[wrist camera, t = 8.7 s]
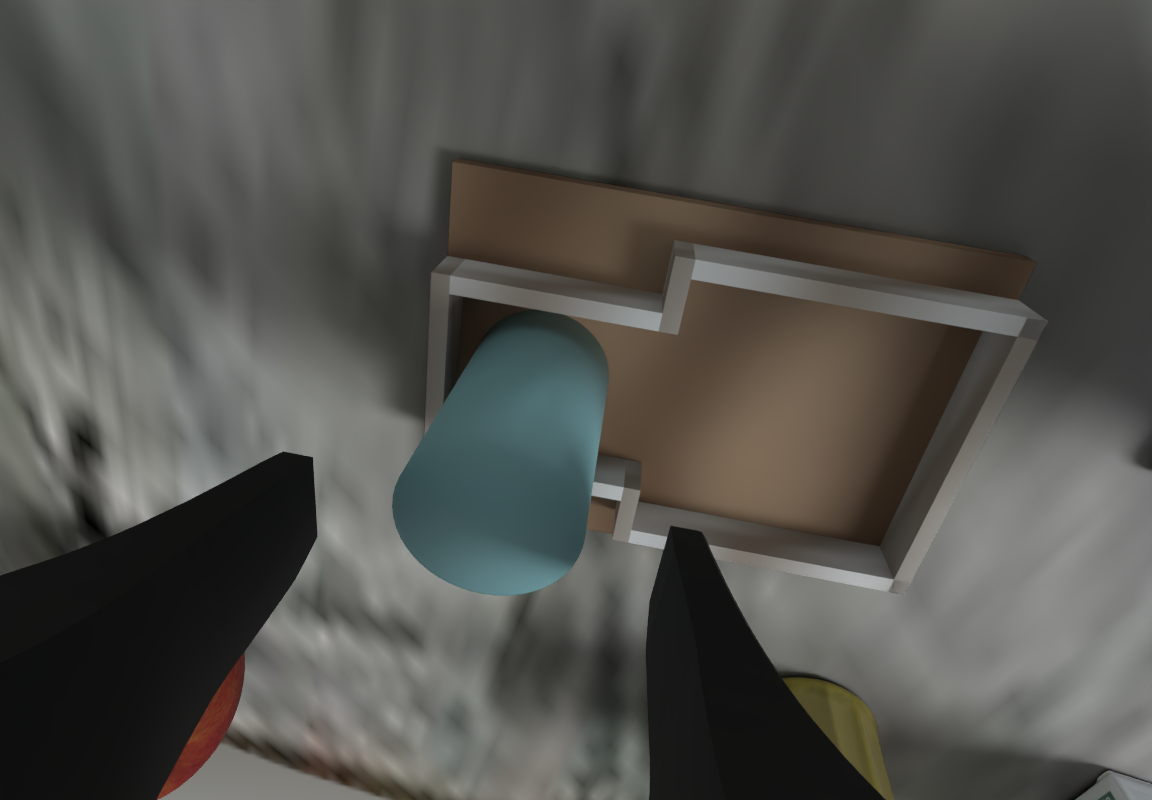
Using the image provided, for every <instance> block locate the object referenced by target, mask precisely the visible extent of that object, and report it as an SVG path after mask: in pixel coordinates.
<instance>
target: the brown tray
mask: <svg viewBox="0 0 1152 800" xmlns="http://www.w3.org/2000/svg"><path fill="white" fill-rule="evenodd" d="M1036 264H1037V263H1036V262H1035V261H1033V260H1031V259H1030V258H1028V257H1026V256H1021V255H1016V254H1010V253H1004V252H998V251H992V250H987V249H981V248H975V247H969V246H963V245H958V244H952V243H946V242H940V241H934V240H929V239H923V238H917V237H911V236H906V235H900V234H894V233H888V232H882V231H877V230H871V229H865V228H859V227H853V226H848V225H842V224H836V223H830V222H824V221H819V220H813V219H807V218H801V217H796V216H790V215H784V214H778V213H772V212H767V211H761V210H755V209H749V208H743V207H738V206H732V205H726V204H720V203H714V202H709V201H703V200H697V199H691V198H685V197H680V196H674V195H668V194H662V193H657V192H651V191H645V190H639V189H633V188H628V187H622V186H616V185H610V184H604V183H599V182H593V181H587V180H581V179H575V178H570V177H564V176H558V175H552V174H547V173H541V172H535V171H529V170H523V169H518V168H512V167H506V166H500V165H494V164H489V163H483V162H477V161H471V160H465V159H460V158H458V159H457V160H455V161H453V163H452V182H451V201H450V220H449V240H448V256H447V257H446V258H445V259H444V260H443V261H442V262H441V263H440V264H439V265H438V266H437V267H436V268H435V269H434V270H433V271H432V272H431V288H430V312H429V337H428V362H427V387H426V412H425V434H426V432H427V430H428V429H429V427H430V426H431V424H432V422H433V421H434V419H435V417H436V416H437V414H438V412H439V411H440V409H441V407H442V406H443V404H444V402H445V401H446V399H447V397H448V396H449V394H450V392H451V391H452V389H453V387H454V386H455V384H456V382H457V381H458V379H459V378H460V376H461V374H462V373H463V371H464V369H465V368H466V366H467V364H468V363H469V361H470V359H471V358H472V356H473V354H474V353H475V351H476V349H477V348H478V346H479V344H480V343H481V341H482V340H483V338H484V336H485V335H486V333H487V332H488V331H489V330H490V329H491V328H492V327H493V326H494V325H495V324H496V323H497V322H499V321H500V320H502V319H504V318H505V317H507V316H509V315H512V314H514V313H518V312H521V311H527V310H541V311H547V312H553V313H558V314H563V315H566V316H568V317H570V318H572V319H574V320H576V321H577V322H579V323H580V324H582V325H583V326H584V327H586V328H587V329H588V330H589V331H590V332H591V333H592V334H593V335H594V336H595V338H596V339H597V341H598V342H599V343H600V345H601V347H602V349H603V351H604V353H605V356H606V359H607V363H608V367H609V383H608V390H607V397H606V403H605V410H604V416H603V423H602V429H601V436H600V442H599V449H598V455H597V462H596V468H595V475H594V481H593V488H592V495H591V501H590V508H589V514H588V521H587V527H586V529H591V530H596V531H601V532H607V533H612V534H613V537H612V540H617V541H622V542H627V543H633V544H638V545H643V546H649V547H654V548H659V549H664V547H665V544H666V540H667V536H668V533H669V529H670V525H671V526H676V527H681V528H687V529H692V530H697V531H702V533H703V534H704V536H705V537H706V540H707V542H708V545H709V547H710V549H711V552H712V554H713V556H714V558H715V559H717V560H723V561H728V562H733V563H739V564H744V565H749V566H754V567H760V568H765V569H770V570H776V571H781V572H786V573H791V574H797V575H802V576H807V577H813V578H818V579H823V580H828V581H834V582H839V583H844V584H850V585H855V586H860V587H865V588H871V589H876V590H881V591H887V592H892V593H897V594H903V595H904V594H905V592H906V591H907V589H908V587H909V585H910V583H911V581H912V579H913V577H914V575H915V573H916V572H917V570H918V568H919V566H920V564H921V562H922V560H923V558H924V556H925V555H926V553H927V551H928V549H929V547H930V545H931V543H932V541H933V539H934V537H935V536H936V534H937V532H938V530H939V528H940V526H941V524H942V522H943V520H944V519H945V517H946V515H947V513H948V511H949V509H950V507H951V505H952V503H953V501H954V500H955V498H956V496H957V494H958V492H959V490H960V488H961V486H962V484H963V482H964V481H965V479H966V477H967V475H968V473H969V471H970V469H971V467H972V465H973V464H974V462H975V460H976V458H977V456H978V454H979V452H980V450H981V448H982V446H983V445H984V443H985V441H986V439H987V437H988V435H989V433H990V431H991V429H992V428H993V426H994V424H995V422H996V420H997V418H998V416H999V414H1000V412H1001V410H1002V409H1003V407H1004V405H1005V403H1006V401H1007V399H1008V397H1009V395H1010V393H1011V392H1012V390H1013V388H1014V386H1015V384H1016V382H1017V380H1018V378H1019V376H1020V374H1021V373H1022V371H1023V369H1024V367H1025V365H1026V363H1027V361H1028V359H1029V357H1030V356H1031V354H1032V352H1033V350H1034V348H1035V346H1036V344H1037V342H1038V340H1039V338H1040V337H1041V335H1042V333H1043V331H1044V329H1045V327H1046V325H1047V323H1048V321H1047V320H1046V319H1044V318H1043V317H1041V316H1040V315H1039V314H1037V313H1036V312H1034V311H1033V310H1032V309H1030V308H1029V307H1027V306H1026V305H1025V304H1023V303H1022V302H1020V301H1019V299H1020V297H1021V295H1022V293H1023V291H1024V289H1025V286H1026V284H1027V282H1028V280H1029V278H1030V276H1031V274H1032V272H1033V270H1034V268H1035V266H1036Z"/></svg>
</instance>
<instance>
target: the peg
mask: <svg viewBox="0 0 1152 800" xmlns="http://www.w3.org/2000/svg"><path fill="white" fill-rule="evenodd" d="M608 383H609V367H608V363H607V359H606V356H605V353H604V351H603V349H602V347H601V345H600V343H599V342H598V341H597V339H596V338H595V336H594V335H593V334H592V333H591V332H590V331H589V330H588V329H587V328H586V327H584V326H583V325H582V324H580V323H579V322H577V321H576V320H574V319H572V318H570V317H568V316H566V315H563V314H558V313H553V312H547V311H541V310H527V311H521V312H518V313H514V314H512V315H509V316H507V317H505V318H504V319H502V320H500V321H499V322H497V323H496V324H495V325H494V326H493V327H492V328H491V329H490V330H489V331H488V332H487V333H486V335H485V336H484V338H483V340H482V341H481V343H480V344H479V346H478V348H477V349H476V351H475V353H474V354H473V356H472V358H471V359H470V361H469V363H468V364H467V366H466V368H465V369H464V371H463V373H462V374H461V376H460V378H459V379H458V381H457V382H456V384H455V386H454V387H453V389H452V391H451V392H450V394H449V396H448V397H447V399H446V401H445V402H444V404H443V406H442V407H441V409H440V411H439V412H438V414H437V416H436V417H435V419H434V421H433V422H432V424H431V426H430V427H429V429H428V430H427V432H426V434H425V435H424V437H423V439H422V440H421V442H420V444H419V445H418V447H417V449H416V450H415V452H414V454H413V455H412V457H411V459H410V460H409V462H408V464H407V465H406V467H405V469H404V470H403V472H402V474H401V475H400V477H399V479H398V481H397V484H396V486H395V490H394V494H393V504H392V508H393V517H394V521H395V525H396V528H397V530H398V533H399V535H400V537H401V539H402V541H403V542H404V544H405V546H406V547H407V549H408V550H409V551H410V553H411V554H412V555H413V556H414V557H415V558H416V559H417V560H418V561H419V562H420V563H421V564H422V565H423V566H424V567H425V568H427V569H428V570H429V571H430V572H432V573H433V574H435V575H436V576H438V577H439V578H441V579H443V580H445V581H447V582H448V583H451V584H453V585H455V586H457V587H460V588H463V589H466V590H469V591H472V592H477V593H482V594H488V595H504V596H507V595H519V594H524V593H529V592H533V591H536V590H539V589H542V588H544V587H546V586H548V585H550V584H552V583H554V582H555V581H557V580H558V579H560V578H561V577H562V576H563V575H565V574H566V573H567V572H568V571H569V570H570V568H571V567H572V566H573V565H574V563H575V562H576V560H577V559H578V557H579V555H580V553H581V550H582V548H583V544H584V540H585V534H586V527H587V521H588V514H589V508H590V501H591V495H592V488H593V481H594V475H595V468H596V462H597V455H598V449H599V442H600V436H601V429H602V423H603V416H604V410H605V403H606V397H607V390H608Z"/></svg>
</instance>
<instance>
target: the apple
mask: <svg viewBox="0 0 1152 800" xmlns="http://www.w3.org/2000/svg"><path fill="white" fill-rule="evenodd" d="M244 671H245V656H244V653H243V654H242V656H241V657H240V658H239V660H238V661H237V663H236V664H235V665H234V667H233V668H232V670H231V671H230V673H229V674H228V675H227V677H226V678H225V680H224V682H223V683H222V685H221V686H220V688H219V689H218V691H217V692H216V694H215V695H214V697H213V699H212V700H211V702H210V704H209V706H208V707H207V709H206V711H205V713H204V714H203V716H202V718H201V720H200V721H199V723H198V725H197V727H196V728H195V730H194V732H193V734H192V735H191V737H190V739H189V741H188V742H187V744H186V746H185V748H184V750H183V751H182V753H181V755H180V757H179V759H178V761H177V763H176V764H175V766H174V768H173V770H172V772H171V774H170V775H169V777H168V779H167V781H166V783H165V785H164V787H163V788H162V790H161V792H160V794H159V796H158V798H157V800H158V799H160V798H162V797H164V796H166V795H167V794H169V793H170V792H172V791H174V790H175V789H177V788H178V787H180V786H181V785H182V784H183V783H185V782H186V781H187V780H188V779H189V778H190V777H192V776H193V775H194V774H195V773H196V772H197V771H198V770H199V769H200V768H201V767H202V766H203V764H204V763H205V762H206V761H207V760H208V759H209V758H210V756H211V755H212V754H213V752H214V751H215V750H216V748H217V747H218V745H219V744H220V742H221V741H222V739H223V737H224V736H225V734H226V732H227V730H228V728H229V726H230V724H231V722H232V720H233V717H234V715H235V712H236V710H237V707H238V704H239V700H240V697H241V692H242V687H243V681H244Z"/></svg>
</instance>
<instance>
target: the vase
mask: <svg viewBox="0 0 1152 800" xmlns="http://www.w3.org/2000/svg"><path fill="white" fill-rule="evenodd" d="M782 679H783V681H784V682H785V683H786V685H787V686H788V687H789V689H790V690H791V692H792V693H793V694H794V696H795V697H796V699H797V700H798V701H799V703H800V704H801V705H802V706H803V708H804V709H805V710H806V712H807V713H808V714H809V715H810V717H811V718H812V719H813V721H814V722H815V723H816V724H817V725H818V726H819V727H820V729H821V730H822V731H823V732H824V733H825V734H826V736H827V737H828V738H829V739H830V740H831V741H832V743H833V744H834V745H835V746H836V747H837V748H838V750H839V751H840V752H841V753H842V754H843V755H844V757H845V758H846V759H847V760H848V761H849V762H850V763H851V764H852V765H853V766H854V767H855V768H856V770H857V771H858V772H859V773H860V774H861V775H862V776H863V777H864V778H865V779H866V780H867V781H868V782H869V783H870V784H871V785H872V786H873V787H874V788H875V789H876V790H877V791H878V792H879V793H880V794H881V795H882V796H883V797H884V798H885V799H886V800H894V796H893V793H892V789H891V786H890V782H889V779H888V776H887V772H886V768H885V764H884V761H883V756H882V752H881V748H880V743H879V738H878V730H877V724H876V721H875V719H874V716H873V715H872V713H871V711H870V710H869V708H868V707H867V706H866V704H865V703H864V702H863V701H862V700H861V699H859V698H858V697H857V696H856V695H854V694H853V693H851V692H849V691H848V690H846V689H844V688H842V687H840V686H838V685H835V684H833V683H830V682H827V681H823V680H818V679H812V678H803V677H788V678H782Z"/></svg>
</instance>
